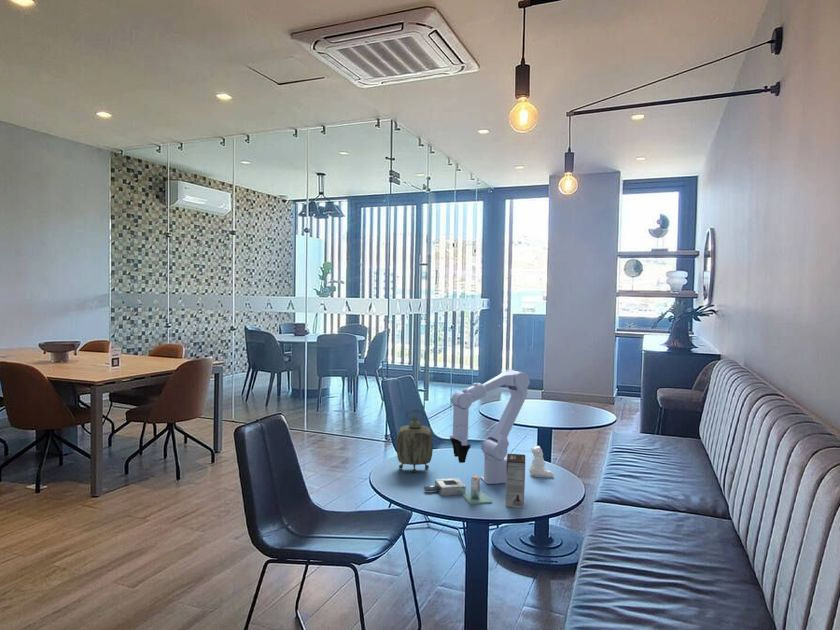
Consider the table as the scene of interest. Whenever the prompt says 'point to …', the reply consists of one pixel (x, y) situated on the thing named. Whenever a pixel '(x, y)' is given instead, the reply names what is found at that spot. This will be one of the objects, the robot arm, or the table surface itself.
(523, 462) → the coffee box
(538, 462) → the white creature statuette
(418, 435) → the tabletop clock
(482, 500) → the mat
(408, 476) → the table surface
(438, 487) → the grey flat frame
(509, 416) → the robot arm
